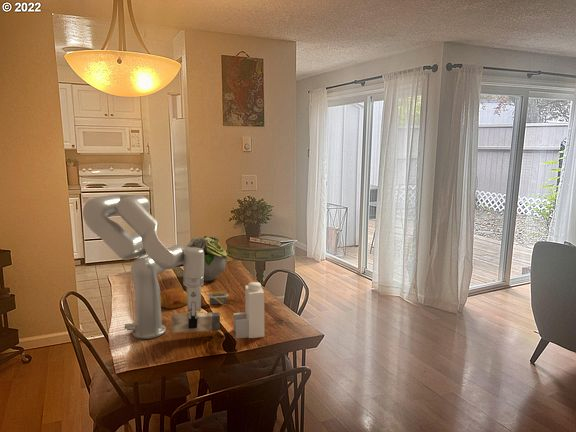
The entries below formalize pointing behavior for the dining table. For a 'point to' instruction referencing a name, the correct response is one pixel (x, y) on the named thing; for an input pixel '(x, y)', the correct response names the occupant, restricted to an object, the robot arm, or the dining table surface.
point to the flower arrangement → (210, 256)
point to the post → (251, 313)
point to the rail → (203, 322)
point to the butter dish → (218, 297)
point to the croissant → (173, 298)
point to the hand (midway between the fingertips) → (192, 325)
